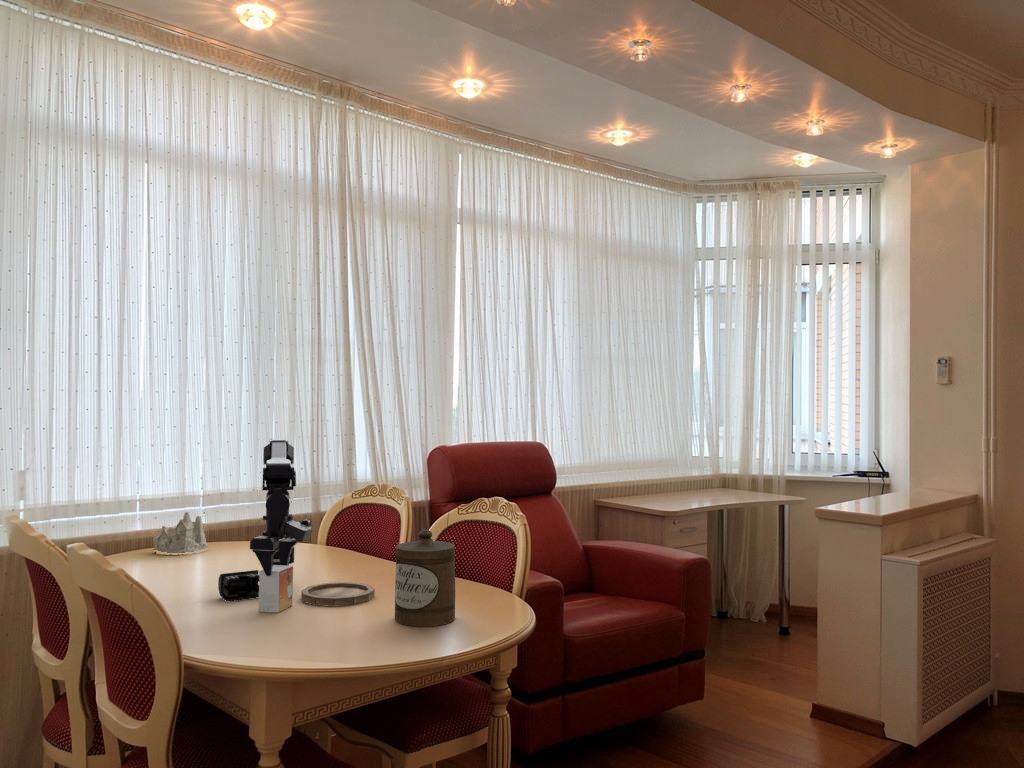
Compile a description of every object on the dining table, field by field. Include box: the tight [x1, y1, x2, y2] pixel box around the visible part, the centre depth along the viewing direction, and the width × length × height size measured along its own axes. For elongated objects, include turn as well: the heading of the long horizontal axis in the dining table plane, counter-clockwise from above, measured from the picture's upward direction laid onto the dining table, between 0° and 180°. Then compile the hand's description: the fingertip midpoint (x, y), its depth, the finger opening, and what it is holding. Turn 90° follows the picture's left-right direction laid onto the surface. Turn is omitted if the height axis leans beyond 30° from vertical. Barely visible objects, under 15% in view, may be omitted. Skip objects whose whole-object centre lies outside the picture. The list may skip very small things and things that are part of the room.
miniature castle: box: [152, 511, 209, 553], centre depth 287 cm, size 16×16×15 cm
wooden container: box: [394, 528, 456, 628], centre depth 201 cm, size 15×15×22 cm
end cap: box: [217, 569, 259, 602], centre depth 221 cm, size 10×7×7 cm
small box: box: [258, 565, 294, 614], centre depth 209 cm, size 8×6×10 cm
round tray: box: [300, 581, 376, 607], centre depth 222 cm, size 19×19×2 cm
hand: (276, 572), depth 209 cm, fingers open, 9 cm apart
